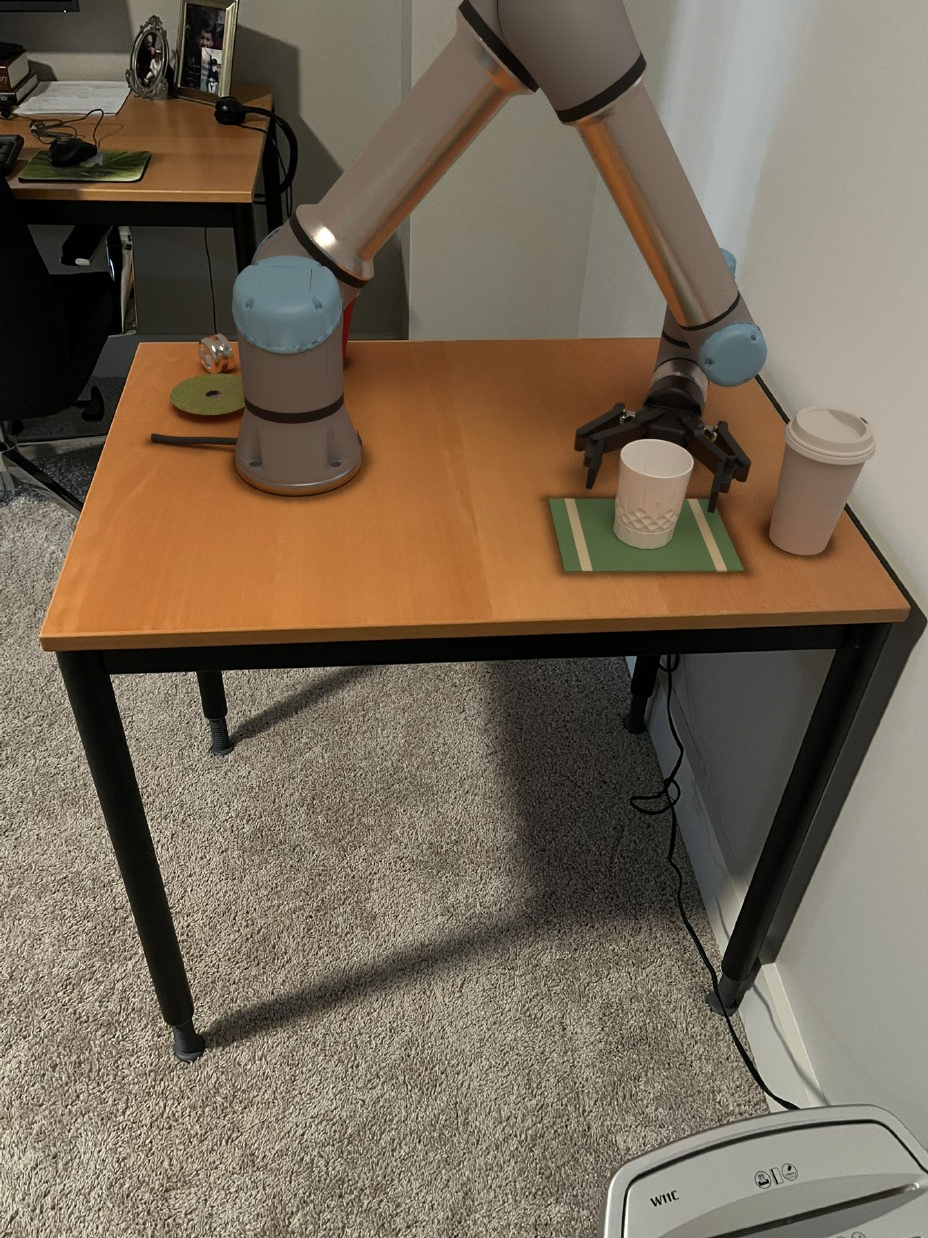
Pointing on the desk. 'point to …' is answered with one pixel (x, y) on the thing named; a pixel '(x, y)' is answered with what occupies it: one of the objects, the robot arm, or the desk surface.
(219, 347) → the metal grooved wheel
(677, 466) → the white cup
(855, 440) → the coffee cup
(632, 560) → the cloth
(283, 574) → the desk surface
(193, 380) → the green sanding disc
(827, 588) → the desk surface
